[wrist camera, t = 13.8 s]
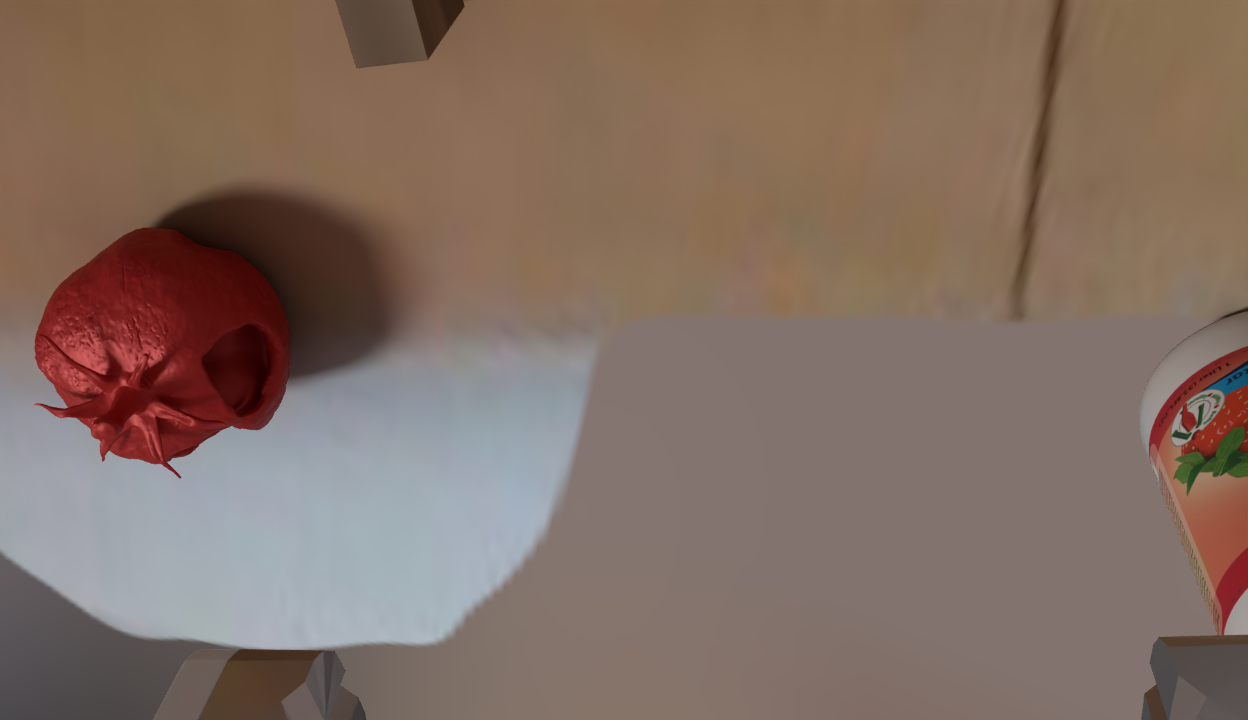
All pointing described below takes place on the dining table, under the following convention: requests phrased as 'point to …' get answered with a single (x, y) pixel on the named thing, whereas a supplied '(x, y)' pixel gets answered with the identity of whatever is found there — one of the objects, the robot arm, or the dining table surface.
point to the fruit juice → (1206, 459)
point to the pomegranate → (164, 345)
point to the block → (395, 28)
